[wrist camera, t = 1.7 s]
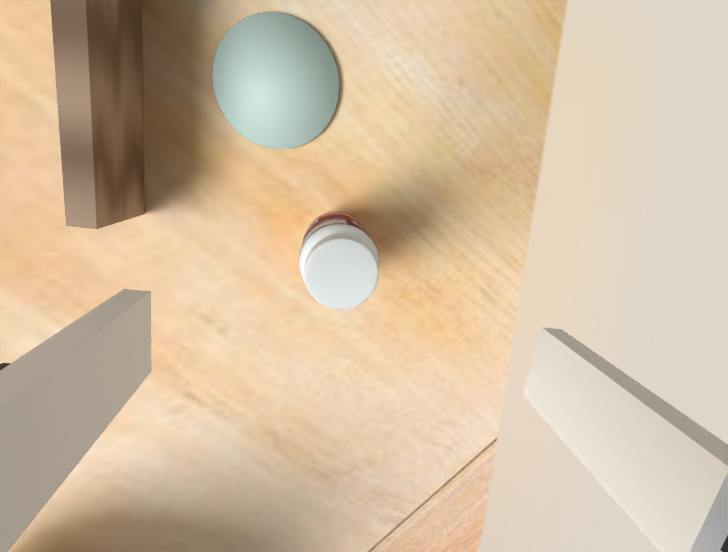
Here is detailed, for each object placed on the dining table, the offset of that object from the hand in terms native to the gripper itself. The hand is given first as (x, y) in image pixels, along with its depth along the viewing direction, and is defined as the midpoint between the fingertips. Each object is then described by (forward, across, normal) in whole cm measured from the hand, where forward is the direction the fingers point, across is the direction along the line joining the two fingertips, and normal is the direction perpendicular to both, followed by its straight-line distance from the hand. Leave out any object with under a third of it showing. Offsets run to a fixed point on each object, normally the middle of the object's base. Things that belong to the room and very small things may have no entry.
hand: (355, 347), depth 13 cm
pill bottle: (+17, 0, 0) cm, 17 cm away
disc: (+16, -5, +10) cm, 20 cm away
